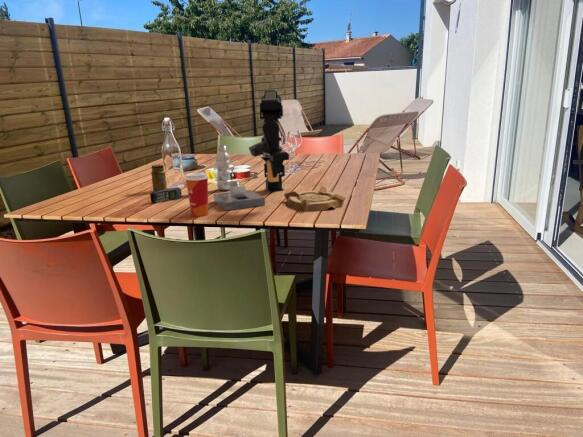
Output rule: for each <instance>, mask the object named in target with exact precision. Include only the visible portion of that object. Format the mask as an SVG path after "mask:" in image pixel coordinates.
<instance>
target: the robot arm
mask: <svg viewBox="0 0 583 437" xmlns="http://www.w3.org/2000/svg"><path fill="white" fill-rule="evenodd" d="M283 107H284V106H283V104H282V97H281V96H280V95H279V94H278V91H277V90H275V89H271V90H269V89H267V90H264V94H263V95H262V97H261V98H260V102H259V119H260V120H263V123H262V124H263V125H262V133H263V136H262V137H261V141H260V142H256V143H255V144H253V145H251V146H248V149H249V152H250V155H251V156H253V157H254V158H255V157H258V156H259V157H260V156H261V155H262V156H261V157H260V159H261V160H263V161H264V162H265V163H264V164H263V168H264V169H263V170H264V174H263V175H264V178H265V190H267V191H269V192H276V191H277V192H278V191H283V190H284V188H283V178H284V177H285V176H286V174H285V172H286V171H285V170H286V168H285V167H286V166H285V165H284V161H289V160H290V154H289V152H287V151H284V150H282V149H283V148H281V147H280V145H281V144H280V142H281V141H282V137H281V136H280V121H279V120H281V119H282V117H284V108H283ZM269 159H270V160H269ZM267 161H268V162H269V163H270V164H271V168H272V174H273V177H274V178H276V177H277V174H278V175H279V181H277V182H269V181H268V175H267ZM282 177H283V178H282Z"/></svg>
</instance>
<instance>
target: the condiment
mask: <svg viewBox="0 0 583 437" xmlns="http://www.w3.org/2000/svg"><path fill="white" fill-rule="evenodd" d="M164 167H165V166H164V165H163V164H154V165H151V171H150V174H151V183H152V189H151V193H152V192H155V191H159V190H165V189H168V186H167V178H166V170H165V168H164Z"/></svg>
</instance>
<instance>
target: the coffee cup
mask: <svg viewBox="0 0 583 437" xmlns="http://www.w3.org/2000/svg"><path fill="white" fill-rule="evenodd" d="M184 179H185V181H186V188H187V189H186V190H187V195H188V201H189V208H190V213H191V216H192V217H193V218H196V217H197V218H199V217H200V216H202V217H206V216H208V215H209V191H208V190H209V185H208V184H209V183H208V182H209V181H208V179H209V176H208V174H207V173H206V172H190V173H187V174H186V175H185V178H184ZM205 215H206V216H205Z"/></svg>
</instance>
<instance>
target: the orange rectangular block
mask: <svg viewBox="0 0 583 437" xmlns="http://www.w3.org/2000/svg"><path fill="white" fill-rule="evenodd" d="M269 160H270V159H269ZM266 174H267V175H268V181H269V182H277V181H279V175H278V174H277V177H276V178H274V177H273V174H272V168H271V164H270V163H269V162H268V161H267V173H266Z"/></svg>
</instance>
